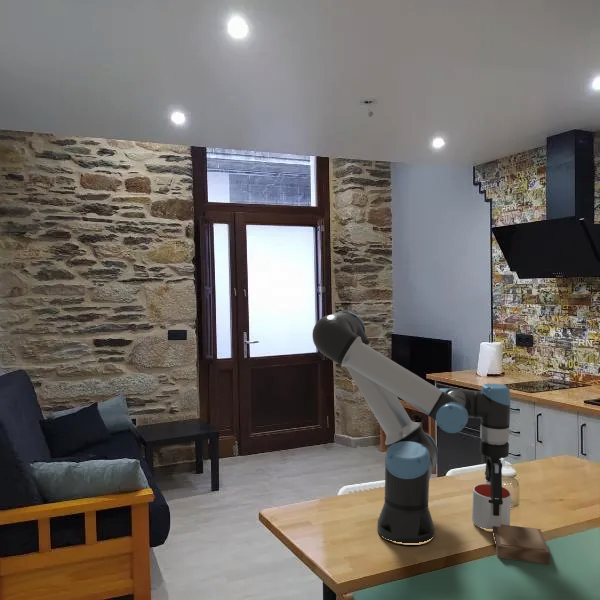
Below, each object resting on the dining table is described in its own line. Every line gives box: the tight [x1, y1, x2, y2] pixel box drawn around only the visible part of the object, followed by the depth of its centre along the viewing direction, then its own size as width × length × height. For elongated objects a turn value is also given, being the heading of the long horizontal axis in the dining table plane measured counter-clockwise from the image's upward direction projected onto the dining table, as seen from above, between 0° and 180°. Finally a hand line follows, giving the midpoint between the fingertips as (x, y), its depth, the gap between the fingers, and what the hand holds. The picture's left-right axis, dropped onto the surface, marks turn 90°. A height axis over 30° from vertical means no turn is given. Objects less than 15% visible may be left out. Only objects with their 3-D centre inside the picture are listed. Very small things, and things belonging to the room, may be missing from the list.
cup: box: [471, 483, 512, 529], centre depth 155 cm, size 10×10×10 cm
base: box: [493, 525, 551, 565], centre depth 144 cm, size 12×12×3 cm
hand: (492, 514), depth 155 cm, fingers open, 13 cm apart
